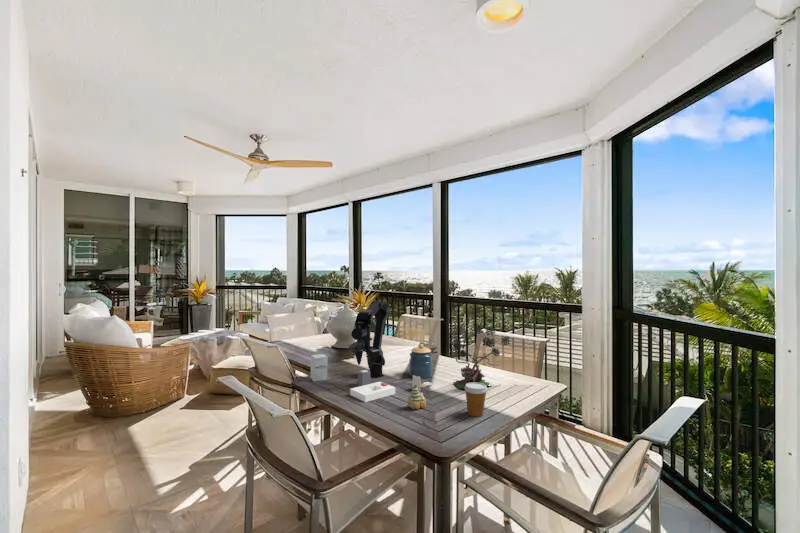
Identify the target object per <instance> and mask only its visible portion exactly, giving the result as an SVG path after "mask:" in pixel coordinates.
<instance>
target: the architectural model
mask: <svg viewBox="0 0 800 533" xmlns="http://www.w3.org/2000/svg"><path fill="white" fill-rule="evenodd" d="M419 377H420V376H419ZM419 377H416V376H414V375H413V377H412V389H413V388H414V385H417V388H418V391H419V392H421V388H422V387H427V386H428V385H427V384H426V383H424V382H423V381H421V380H422V378H419Z"/></svg>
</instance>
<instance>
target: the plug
mask: <svg viewBox="0 0 800 533" xmlns="http://www.w3.org/2000/svg"><path fill="white" fill-rule="evenodd" d="M368 384H371V376H370V370H367V369H365V370H359V371H357V386H358V387H359V386H364V385H368Z"/></svg>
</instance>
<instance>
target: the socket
mask: <svg viewBox="0 0 800 533" xmlns="http://www.w3.org/2000/svg"><path fill="white" fill-rule="evenodd" d="M349 390H350V391H349V395H350V396H351V397H353V398H356V399H358V400H360V401H362V402H364V403H367V402H371V401H374V400H378V399H381V398H385V397H388V396H389V397H390V396H392V395H396V387H395V386H393V385H390V384H389V383H386V382H382V381H376V382H372V383H370V384H368V385H364V386H359V385H358V386H355V387H352V388H349Z"/></svg>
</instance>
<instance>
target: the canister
mask: <svg viewBox="0 0 800 533" xmlns="http://www.w3.org/2000/svg"><path fill="white" fill-rule="evenodd" d="M410 350H411V352H410V353H409V357H410V359H409V371H408V372H409V376H410V377H411V378H413V375H414V376H416V377H419V376H420V377H419V378H421V379H430V378H431V377H432V376H433V359H432V358H433V355H434V354H433V353H432V350H431V349H430V347H428V346H427V347H426V346H424V344H423V343H420V344H419V345H418V346H414V347H413V348H411V349H410Z"/></svg>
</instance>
